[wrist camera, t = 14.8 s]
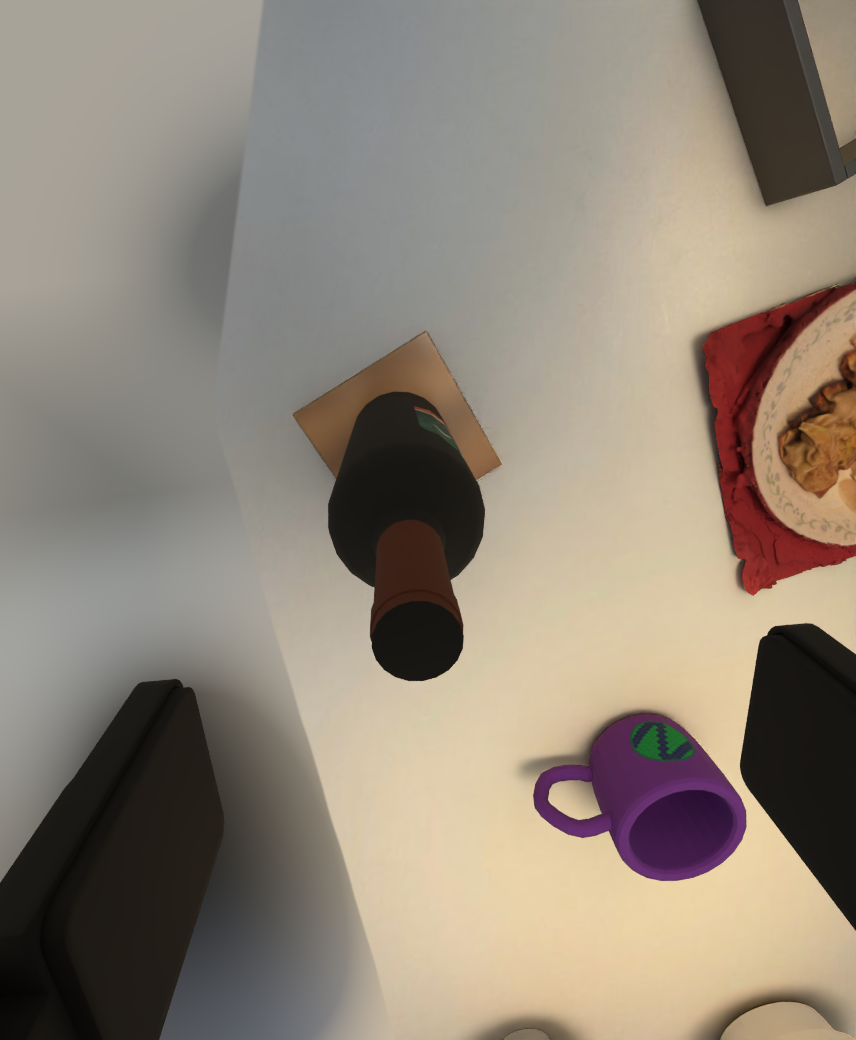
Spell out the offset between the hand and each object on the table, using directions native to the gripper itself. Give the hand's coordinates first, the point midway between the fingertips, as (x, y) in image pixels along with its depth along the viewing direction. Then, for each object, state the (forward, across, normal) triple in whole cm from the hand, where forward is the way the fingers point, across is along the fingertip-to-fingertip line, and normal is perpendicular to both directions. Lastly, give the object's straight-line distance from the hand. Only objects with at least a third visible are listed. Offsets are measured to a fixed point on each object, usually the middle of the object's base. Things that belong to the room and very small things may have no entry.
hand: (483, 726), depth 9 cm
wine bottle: (+37, +1, +3) cm, 37 cm away
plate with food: (+38, -38, +4) cm, 54 cm away
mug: (+38, -17, +36) cm, 55 cm away
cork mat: (+38, +1, +3) cm, 38 cm away
